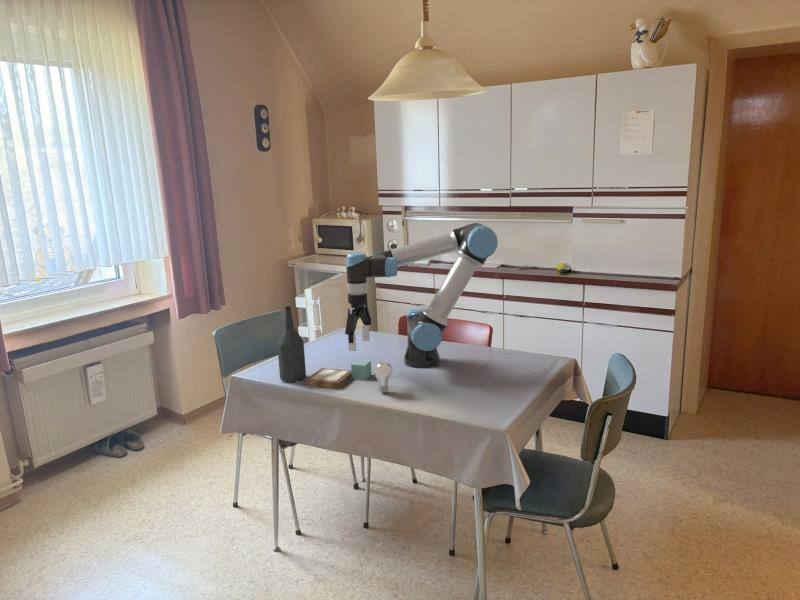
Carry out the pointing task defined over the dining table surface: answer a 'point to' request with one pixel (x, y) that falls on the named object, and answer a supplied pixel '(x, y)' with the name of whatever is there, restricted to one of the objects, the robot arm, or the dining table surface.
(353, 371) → the cube
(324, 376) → the picture frame
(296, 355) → the bottle
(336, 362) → the dining table surface
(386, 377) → the light bulb
